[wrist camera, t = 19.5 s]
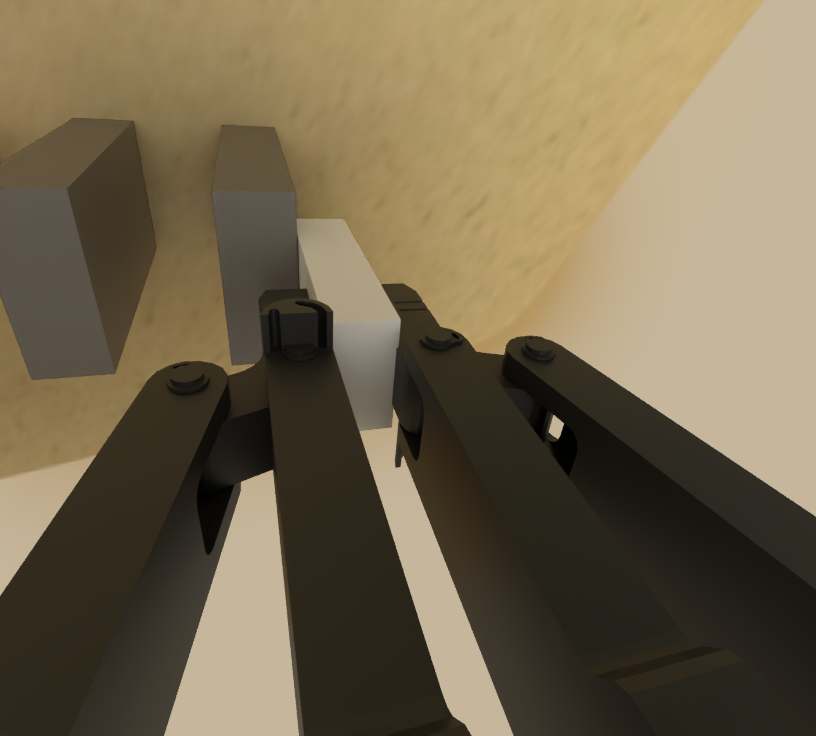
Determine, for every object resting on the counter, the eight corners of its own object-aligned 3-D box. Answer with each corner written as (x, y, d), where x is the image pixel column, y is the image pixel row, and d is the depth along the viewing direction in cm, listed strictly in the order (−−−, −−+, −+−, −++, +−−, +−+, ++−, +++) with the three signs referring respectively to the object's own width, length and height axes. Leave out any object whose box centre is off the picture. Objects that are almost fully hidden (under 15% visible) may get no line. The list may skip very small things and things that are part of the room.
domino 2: (234, 246, 23) (231, 365, 15) (222, 124, 21) (211, 190, 13) (280, 246, 24) (301, 360, 16) (274, 127, 21) (295, 192, 13)
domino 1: (104, 248, 22) (31, 379, 14) (73, 118, 19) (-40, 187, 11) (156, 247, 22) (115, 373, 14) (133, 120, 20) (66, 189, 12)
